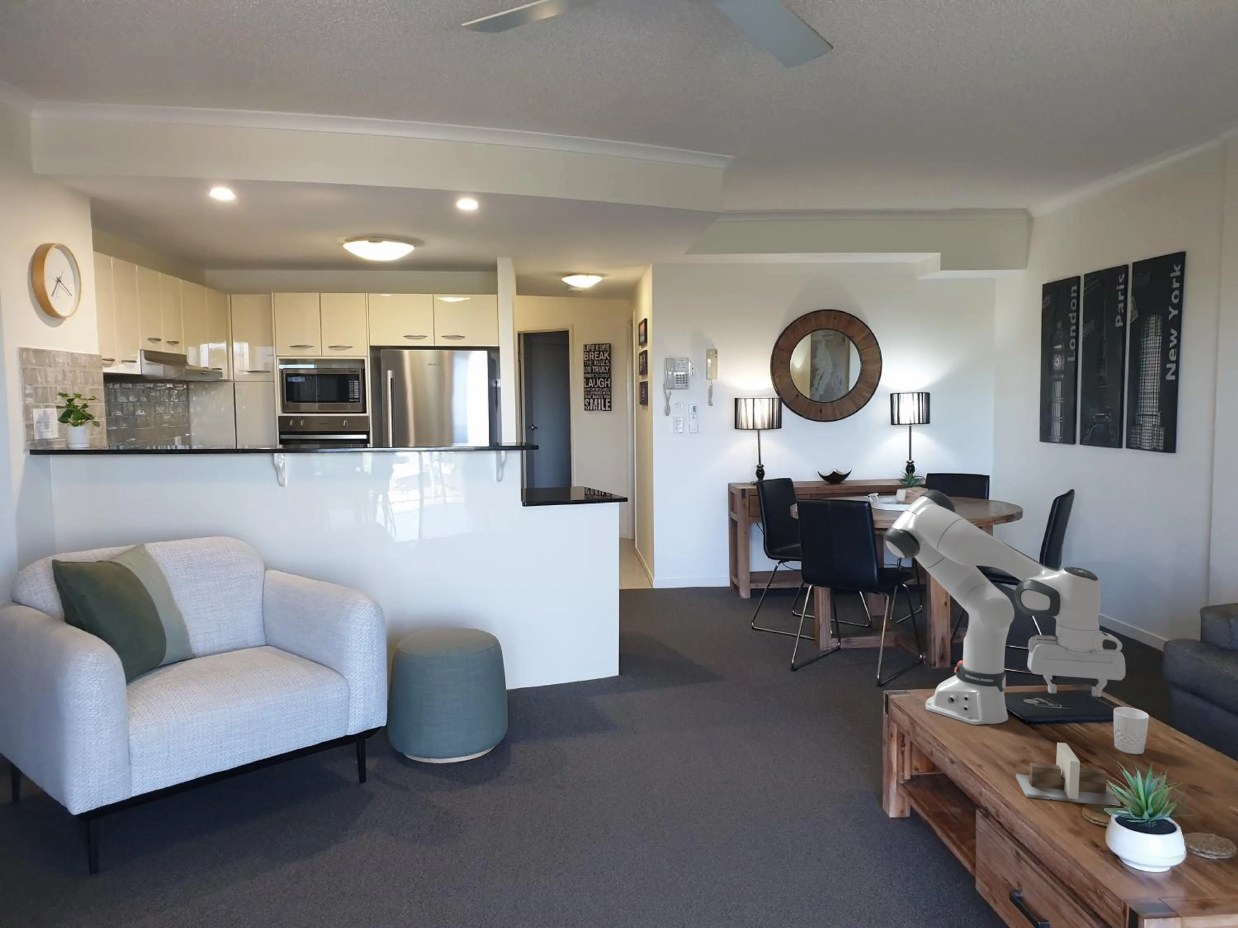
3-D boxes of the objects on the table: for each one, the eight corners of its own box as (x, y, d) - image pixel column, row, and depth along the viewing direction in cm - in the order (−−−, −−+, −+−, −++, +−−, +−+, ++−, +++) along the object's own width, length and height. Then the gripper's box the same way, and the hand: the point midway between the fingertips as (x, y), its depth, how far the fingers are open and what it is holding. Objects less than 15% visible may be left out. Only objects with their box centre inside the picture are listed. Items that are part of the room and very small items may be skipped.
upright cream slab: (1078, 798, 185) (1080, 761, 184) (1068, 797, 185) (1070, 760, 184) (1064, 778, 194) (1066, 743, 194) (1055, 777, 195) (1057, 742, 194)
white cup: (1152, 756, 208) (1154, 719, 207) (1118, 753, 209) (1120, 717, 208) (1139, 743, 215) (1141, 707, 215) (1106, 741, 217) (1108, 705, 216)
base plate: (1026, 796, 187) (1027, 773, 187) (1015, 776, 197) (1016, 754, 196) (1121, 806, 183) (1122, 782, 182) (1105, 785, 192) (1107, 762, 192)
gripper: (1032, 638, 187) (1029, 695, 188) (1130, 644, 182) (1126, 702, 183) (1025, 630, 193) (1022, 685, 194) (1119, 636, 188) (1116, 692, 190)
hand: (1073, 694), depth 189 cm, fingers open, 8 cm apart
